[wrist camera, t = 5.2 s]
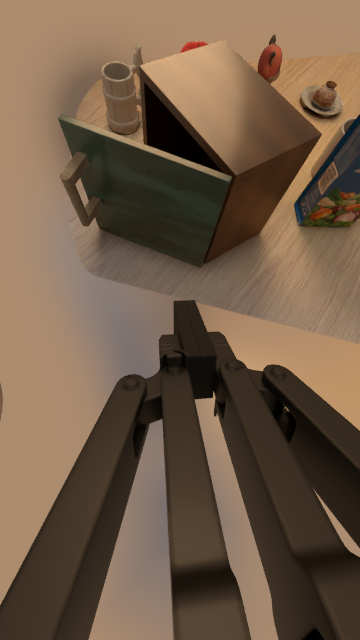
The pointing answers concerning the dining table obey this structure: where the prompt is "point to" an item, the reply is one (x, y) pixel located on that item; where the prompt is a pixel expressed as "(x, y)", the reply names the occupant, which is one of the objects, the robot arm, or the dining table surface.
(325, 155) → the mug
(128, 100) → the mug
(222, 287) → the dining table surface
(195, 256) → the door
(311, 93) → the pastry
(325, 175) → the blue food package
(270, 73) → the stuffed fox
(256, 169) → the cupboard
